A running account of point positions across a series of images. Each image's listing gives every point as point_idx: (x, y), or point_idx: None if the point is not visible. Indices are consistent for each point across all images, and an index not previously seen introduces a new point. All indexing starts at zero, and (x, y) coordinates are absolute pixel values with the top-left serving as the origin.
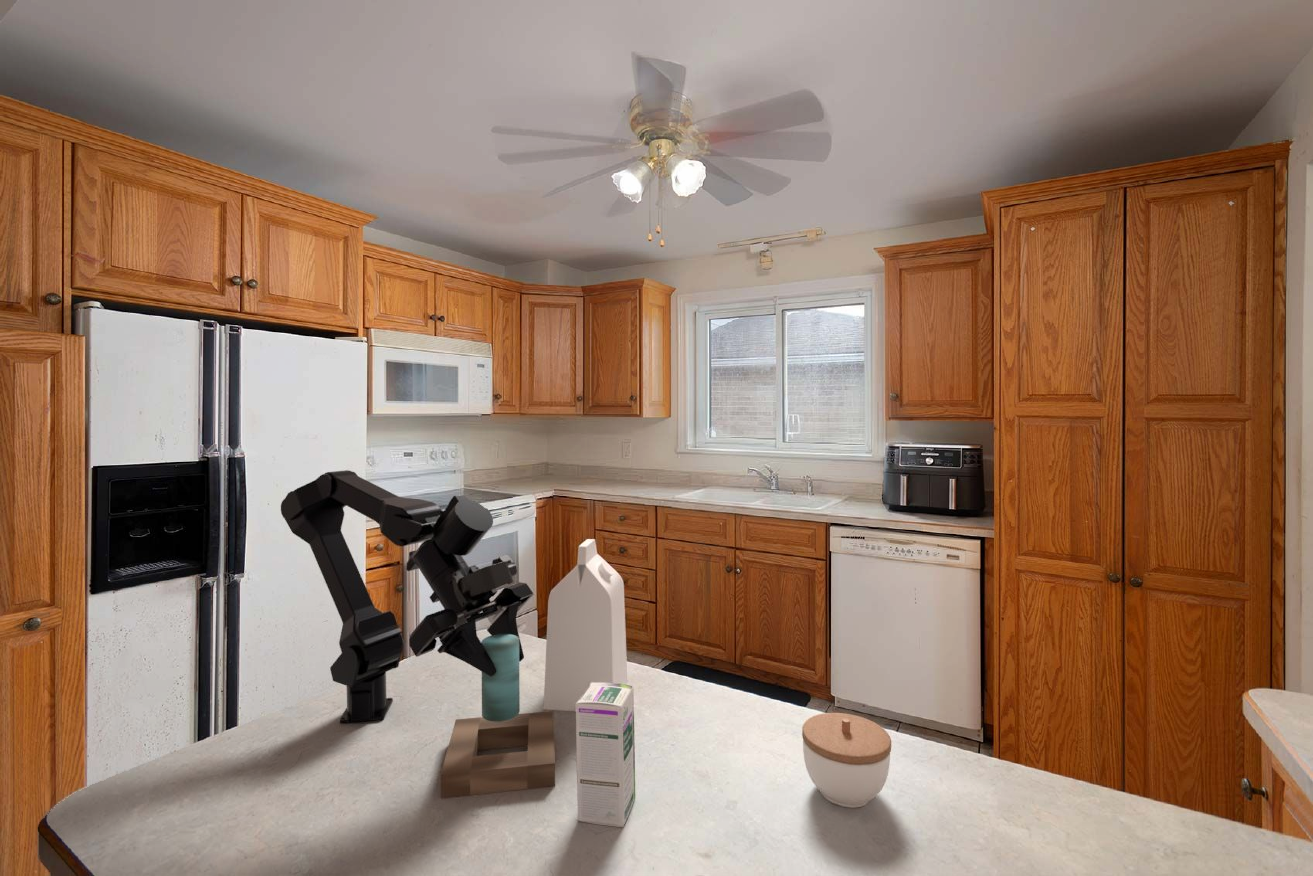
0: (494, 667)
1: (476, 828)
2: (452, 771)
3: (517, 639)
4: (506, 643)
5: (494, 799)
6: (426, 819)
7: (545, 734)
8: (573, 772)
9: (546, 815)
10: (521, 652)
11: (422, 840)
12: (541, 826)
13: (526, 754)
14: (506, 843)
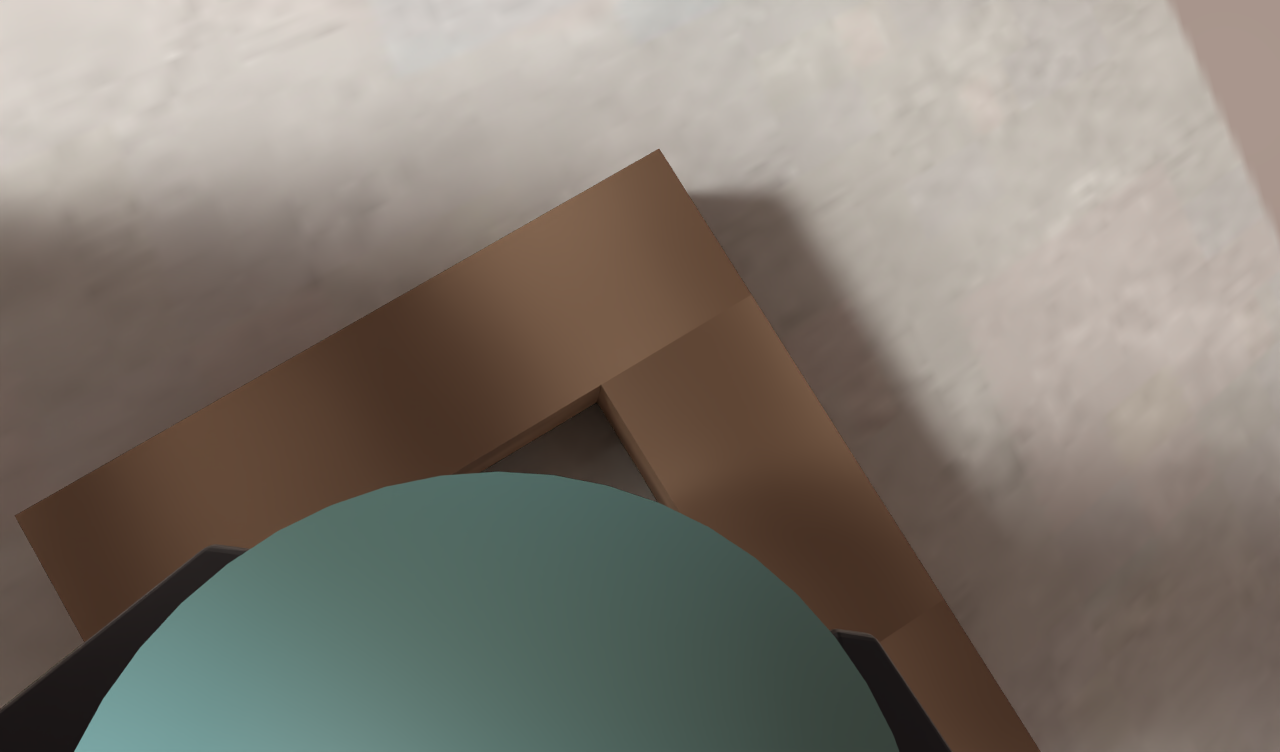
0: (861, 666)
1: (1092, 386)
2: (989, 708)
3: (289, 570)
4: (605, 662)
5: (871, 440)
6: (1145, 674)
7: (366, 382)
8: (493, 161)
9: (874, 119)
10: (187, 594)
11: (1266, 578)
12: (952, 102)
13: (640, 369)
14: (1114, 191)
